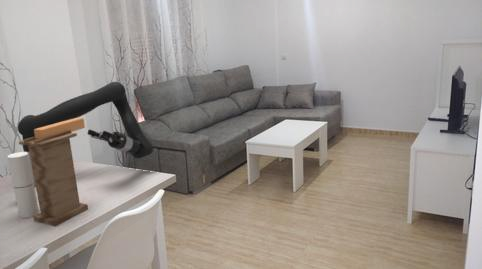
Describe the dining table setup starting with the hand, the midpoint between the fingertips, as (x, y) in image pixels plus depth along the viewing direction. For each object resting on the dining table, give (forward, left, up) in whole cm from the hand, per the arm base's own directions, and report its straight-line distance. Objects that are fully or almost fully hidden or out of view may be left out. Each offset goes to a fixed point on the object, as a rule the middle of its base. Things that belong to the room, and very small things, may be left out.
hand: (95, 132), depth 175 cm
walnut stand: (0, -23, -28) cm, 36 cm away
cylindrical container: (-14, -27, -28) cm, 42 cm away
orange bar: (0, -17, +4) cm, 18 cm away
